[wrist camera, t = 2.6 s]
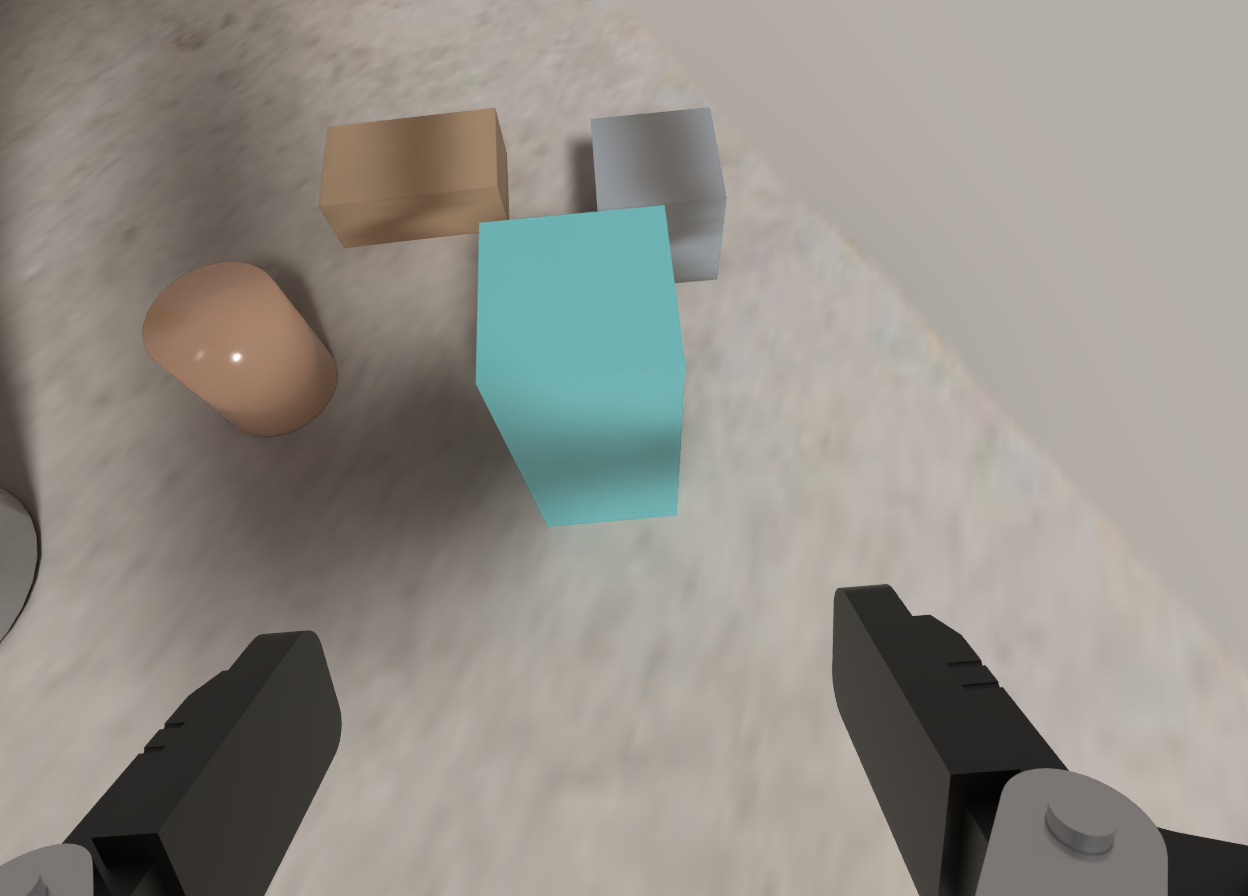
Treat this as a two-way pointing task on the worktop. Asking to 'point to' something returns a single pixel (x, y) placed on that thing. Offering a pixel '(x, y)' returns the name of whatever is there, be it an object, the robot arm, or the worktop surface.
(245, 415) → the peach cylinder
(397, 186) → the walnut slab
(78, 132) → the worktop surface
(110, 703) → the worktop surface
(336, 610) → the worktop surface
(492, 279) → the teal pillar
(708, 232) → the slate cube
